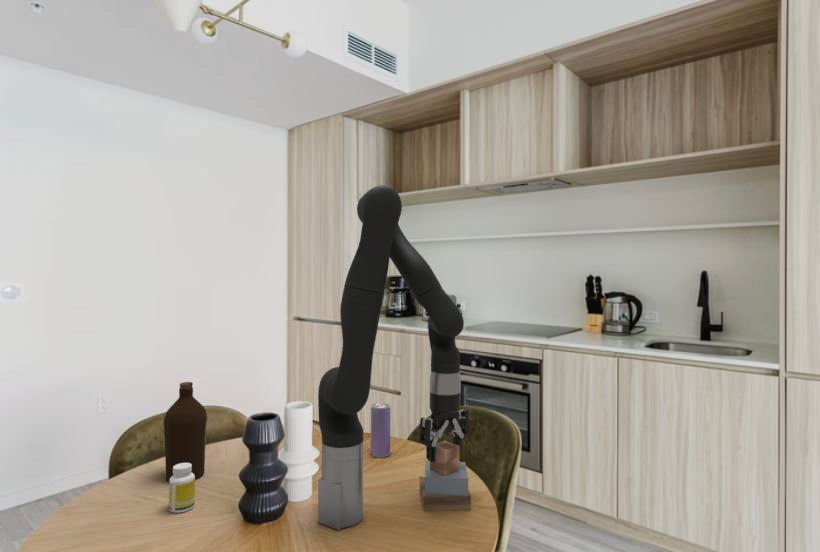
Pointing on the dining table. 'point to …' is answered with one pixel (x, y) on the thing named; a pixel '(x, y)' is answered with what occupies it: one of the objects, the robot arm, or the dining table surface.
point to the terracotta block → (446, 458)
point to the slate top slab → (446, 482)
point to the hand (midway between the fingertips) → (444, 457)
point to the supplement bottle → (182, 488)
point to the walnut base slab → (443, 501)
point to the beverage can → (380, 430)
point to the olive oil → (185, 432)
